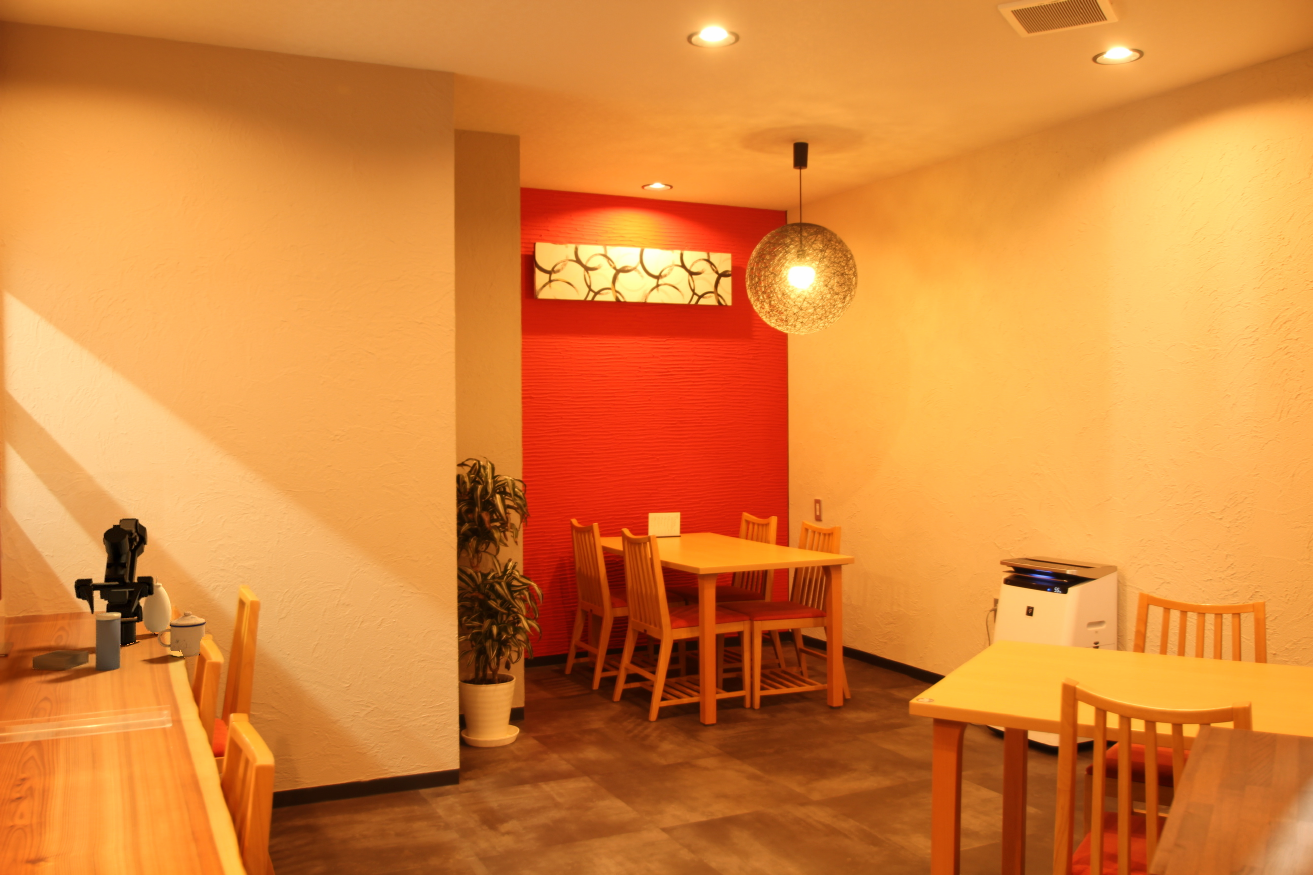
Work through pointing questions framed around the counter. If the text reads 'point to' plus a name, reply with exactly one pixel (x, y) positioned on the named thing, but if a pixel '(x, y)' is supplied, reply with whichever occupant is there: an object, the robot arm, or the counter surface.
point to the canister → (108, 641)
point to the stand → (60, 660)
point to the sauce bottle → (157, 609)
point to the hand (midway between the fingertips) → (112, 612)
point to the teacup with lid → (185, 634)
